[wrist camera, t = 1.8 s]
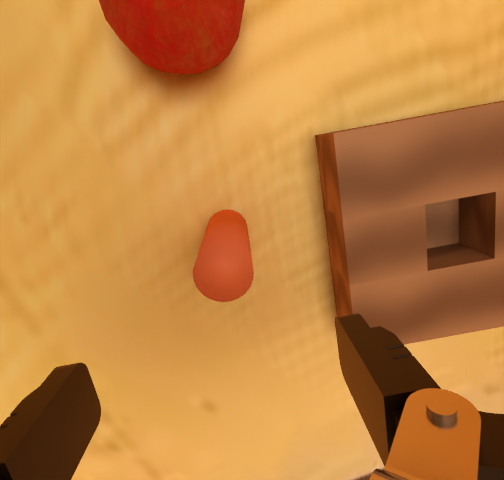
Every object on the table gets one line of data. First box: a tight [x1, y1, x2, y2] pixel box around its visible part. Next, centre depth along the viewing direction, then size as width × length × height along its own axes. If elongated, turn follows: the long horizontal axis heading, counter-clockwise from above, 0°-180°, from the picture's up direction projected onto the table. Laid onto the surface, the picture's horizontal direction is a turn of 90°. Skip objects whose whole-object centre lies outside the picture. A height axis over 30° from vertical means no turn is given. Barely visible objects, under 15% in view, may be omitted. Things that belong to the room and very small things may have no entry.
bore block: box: [315, 101, 504, 344], centre depth 26 cm, size 16×16×5 cm
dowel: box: [193, 210, 253, 302], centre depth 23 cm, size 3×3×10 cm
